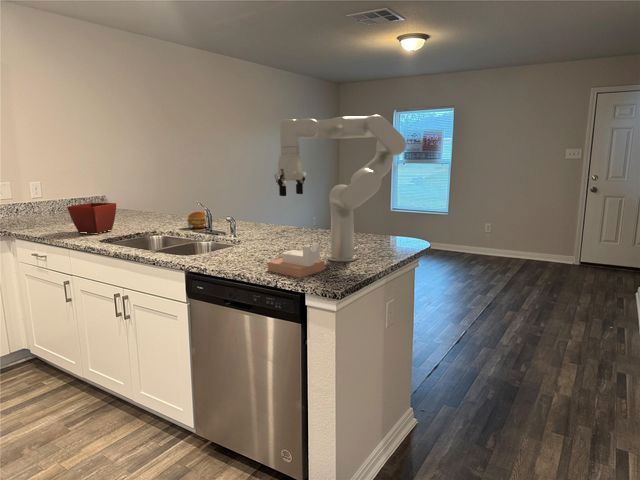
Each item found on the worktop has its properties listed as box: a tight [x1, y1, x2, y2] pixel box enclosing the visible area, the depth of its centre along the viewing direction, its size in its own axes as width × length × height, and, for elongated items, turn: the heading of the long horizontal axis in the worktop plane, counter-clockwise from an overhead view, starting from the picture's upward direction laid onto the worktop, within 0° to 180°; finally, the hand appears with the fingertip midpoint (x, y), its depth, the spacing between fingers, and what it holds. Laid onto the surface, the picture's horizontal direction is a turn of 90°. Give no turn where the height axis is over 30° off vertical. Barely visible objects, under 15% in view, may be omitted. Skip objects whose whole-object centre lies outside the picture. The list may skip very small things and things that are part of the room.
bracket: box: [281, 242, 321, 266], centre depth 171 cm, size 13×7×8 cm, turn 55°
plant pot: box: [66, 202, 117, 233], centre depth 263 cm, size 19×19×17 cm
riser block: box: [267, 257, 326, 278], centre depth 173 cm, size 14×17×4 cm
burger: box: [187, 211, 206, 230], centre depth 276 cm, size 13×14×10 cm
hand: (291, 194), depth 179 cm, fingers open, 9 cm apart
